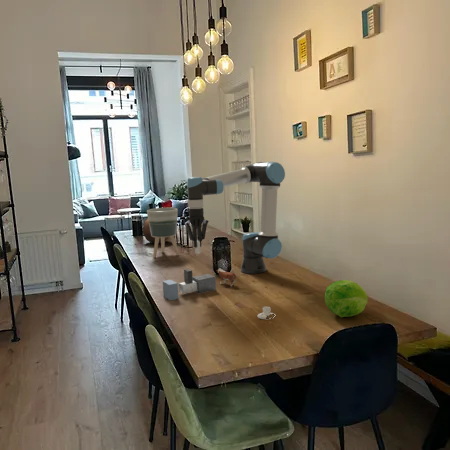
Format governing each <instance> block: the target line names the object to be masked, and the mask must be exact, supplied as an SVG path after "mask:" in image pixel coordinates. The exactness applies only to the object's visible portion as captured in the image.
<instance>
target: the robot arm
mask: <svg viewBox="0 0 450 450" xmlns="http://www.w3.org/2000/svg"><path fill="white" fill-rule="evenodd" d="M285 178H286V171H285V168H284V166H283V165H282V164H281V163H279V162H275V161H258V162H256V163H255V162H254V163H252V164H249V165H245V166H241V168H240V169H237V170H236V169H235V170H231V171H228V172H224V173H219V174H215V175H211V176H207V177H201V176H190V177H188V178H187V182H186V183H187V184H186V185H187V186H186V188H187V202H188V203H187V204H188V206H187V207H188V220H187V221H186V222H184V225H185V227H186V230H187V234H188V237H189V241H191V242H192V241H193V248H194V249H195V250H194V251H195V252H194V253H195V254H196V255H200V254H201V247H202V242H203V240H204V239H206V234H207V233H206V231H207V226H208V224H209V220H206V219H205V217H204V196H211V195H220V194H222V193H223V192H224V188H225V187H229V186H233V185H237V184H242V183H245V184H248V183H259V187H260V188H261V189H262V190H261V204H260V205H261V209H260V211H261V212H260V214H261V215H260V230H259V231H255V232H247V233H244V234H242V251H243V252H242V258H243V259H242V262H241V266H240V272H241V273H243V274H248V275H249V274H253V275H255V274H262V273H264V272H265V273H266V271H267V266H266V263H265V260H264V258H265V259H275V258H278V256H279V255H280V253H281V252H282V248H283V245H282V242H281V240H280V239H279V233H278V232H277V230H276V227H277V207H278V206H277V204H278V189H279V188H280V187H281V183H282V182H284V180H285Z"/></svg>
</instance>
